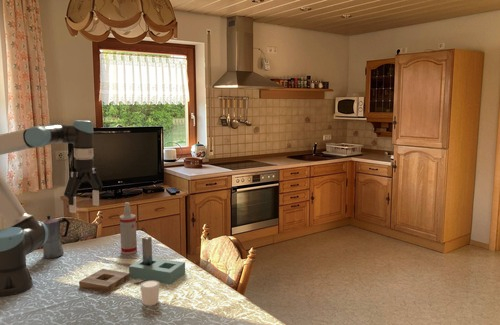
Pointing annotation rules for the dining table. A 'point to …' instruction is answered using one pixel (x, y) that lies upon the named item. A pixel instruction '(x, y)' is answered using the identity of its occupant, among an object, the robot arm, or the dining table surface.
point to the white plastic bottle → (128, 231)
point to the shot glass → (150, 292)
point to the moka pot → (54, 237)
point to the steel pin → (147, 250)
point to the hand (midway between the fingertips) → (84, 208)
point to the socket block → (100, 284)
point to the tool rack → (158, 270)
